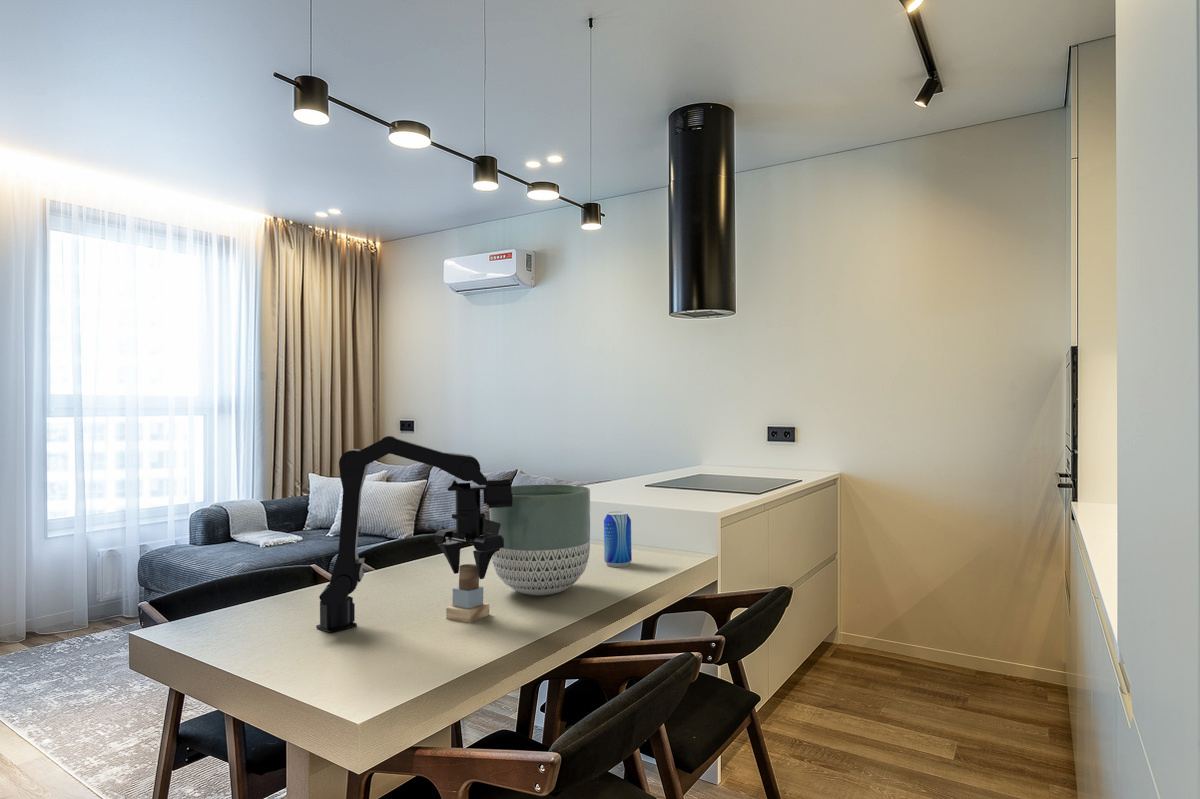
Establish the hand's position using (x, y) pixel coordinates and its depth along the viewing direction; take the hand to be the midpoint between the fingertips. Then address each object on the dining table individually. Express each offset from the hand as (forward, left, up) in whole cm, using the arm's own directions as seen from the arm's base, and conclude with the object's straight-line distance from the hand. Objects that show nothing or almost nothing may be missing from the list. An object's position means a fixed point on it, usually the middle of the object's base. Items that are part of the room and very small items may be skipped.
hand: (468, 576), depth 160 cm
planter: (+26, +2, -10) cm, 28 cm away
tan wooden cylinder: (0, 0, -3) cm, 3 cm away
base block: (0, +1, -10) cm, 10 cm away
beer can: (+63, +5, -10) cm, 64 cm away
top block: (0, +1, -7) cm, 7 cm away
